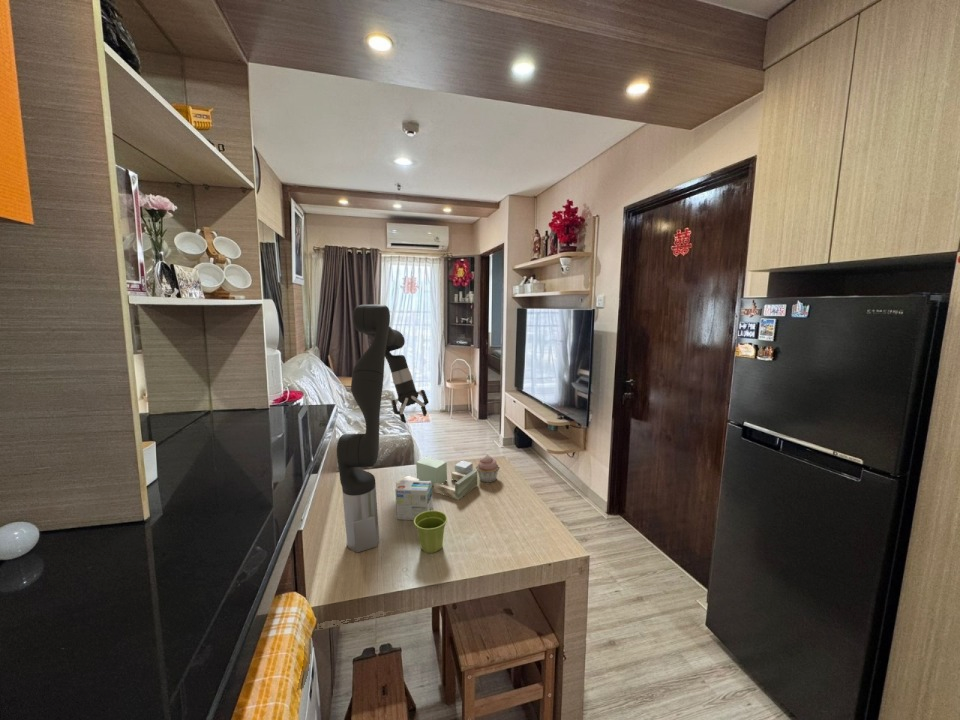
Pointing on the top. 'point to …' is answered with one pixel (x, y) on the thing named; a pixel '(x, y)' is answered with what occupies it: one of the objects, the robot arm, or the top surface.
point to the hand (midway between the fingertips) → (415, 419)
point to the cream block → (407, 480)
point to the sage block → (431, 470)
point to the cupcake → (487, 469)
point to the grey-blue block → (464, 467)
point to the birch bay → (458, 485)
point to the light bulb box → (413, 498)
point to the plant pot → (430, 530)
